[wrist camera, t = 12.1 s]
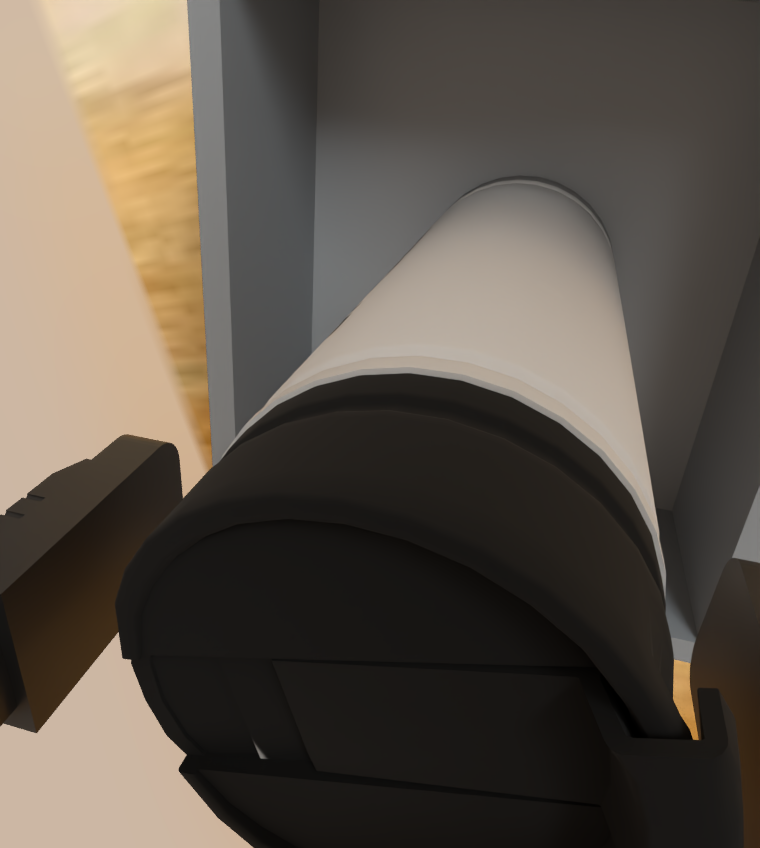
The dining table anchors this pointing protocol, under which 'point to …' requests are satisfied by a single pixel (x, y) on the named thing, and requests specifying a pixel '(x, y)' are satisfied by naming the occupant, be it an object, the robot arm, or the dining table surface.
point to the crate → (485, 161)
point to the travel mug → (439, 572)
